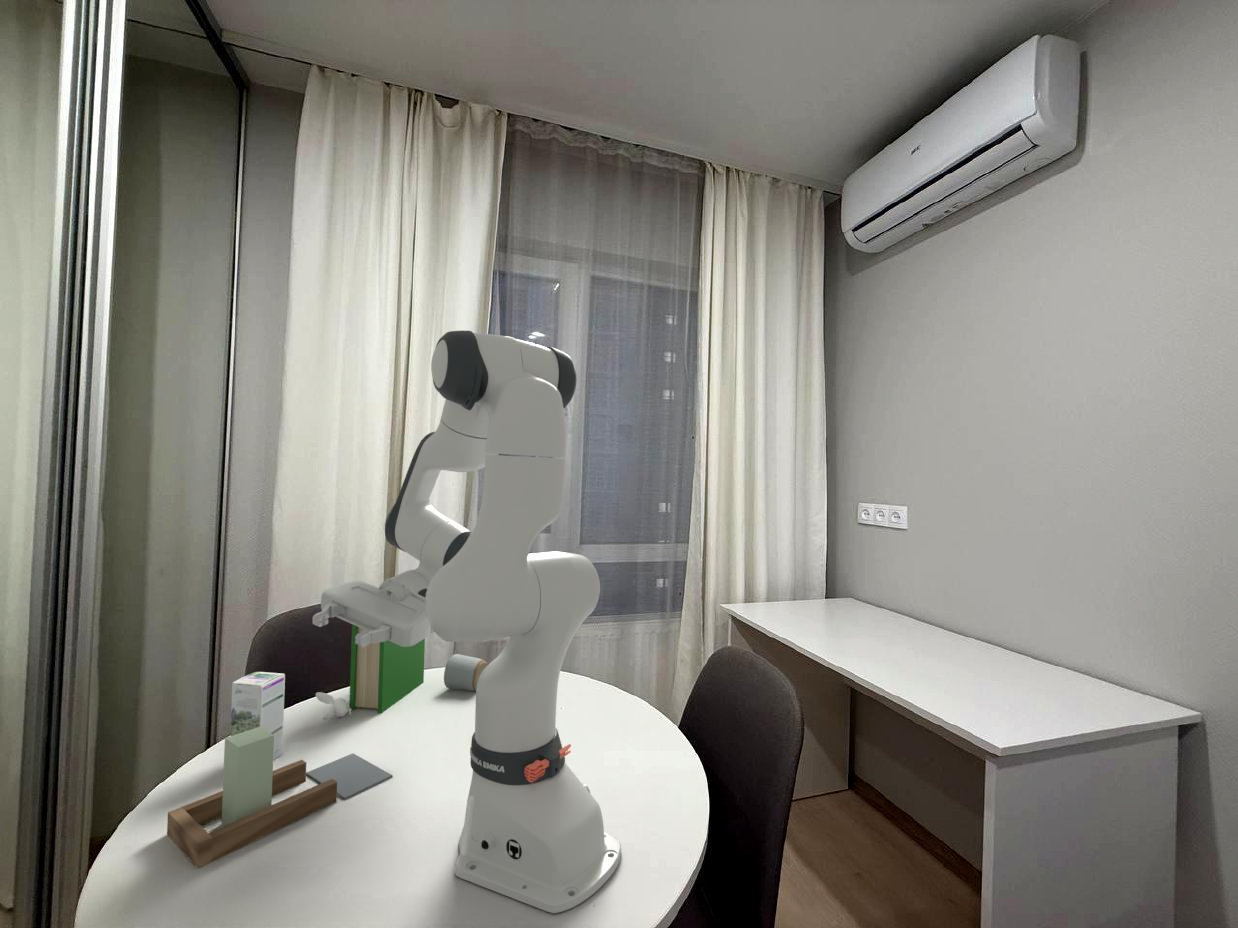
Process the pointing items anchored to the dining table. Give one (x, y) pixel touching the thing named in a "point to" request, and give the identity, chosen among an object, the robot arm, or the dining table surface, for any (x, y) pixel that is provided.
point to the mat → (350, 775)
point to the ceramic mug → (463, 672)
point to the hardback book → (383, 672)
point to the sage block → (247, 774)
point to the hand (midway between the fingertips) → (336, 631)
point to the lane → (250, 828)
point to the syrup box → (259, 705)
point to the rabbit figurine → (334, 706)
